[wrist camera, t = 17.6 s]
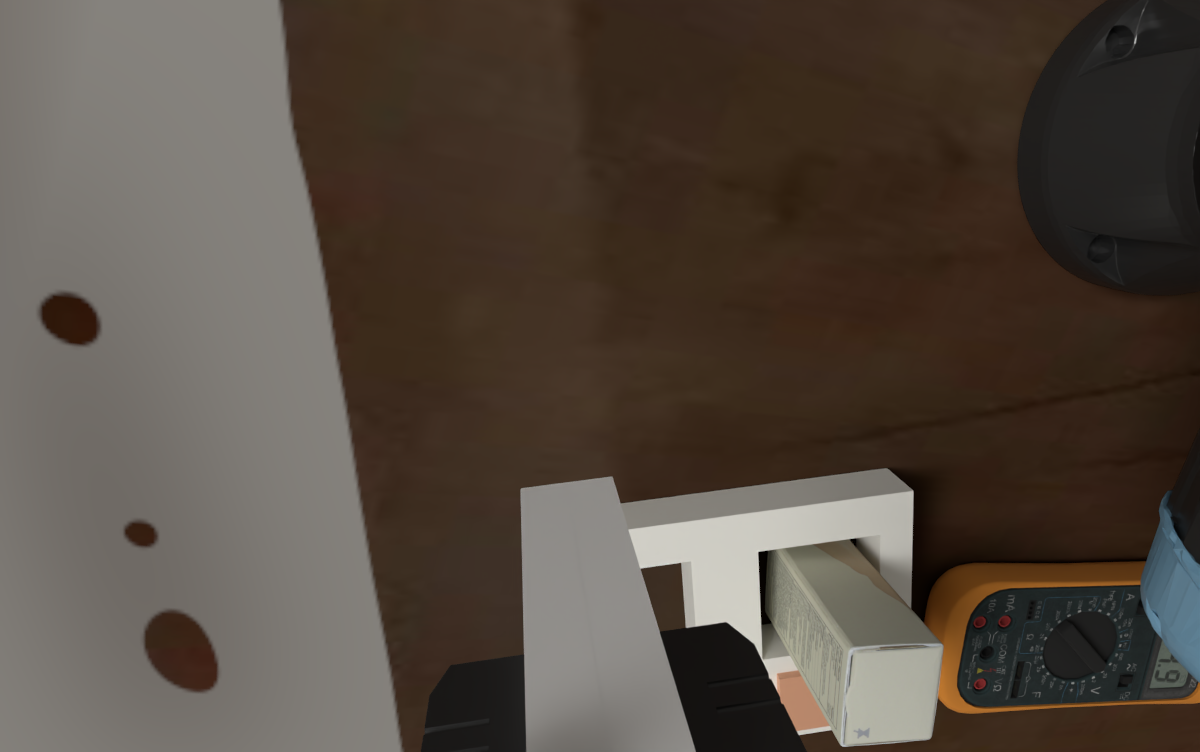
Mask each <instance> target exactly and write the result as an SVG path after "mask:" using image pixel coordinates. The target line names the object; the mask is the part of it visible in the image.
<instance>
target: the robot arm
mask: <svg viewBox="0 0 1200 752" xmlns="http://www.w3.org/2000/svg"><path fill="white" fill-rule="evenodd" d="M1018 182H1019V190H1020V195H1021V200H1022V204H1023V207H1024V211H1025V213H1026V216H1027V219H1028V221H1029V224H1030V226H1031V228H1032V230H1033V232H1034V234H1035V235H1036V237H1037V239H1038V240H1039V242H1040V243H1041V245H1042V246H1043V247H1044V249H1045V250H1046V251H1047V252H1048V253H1049V255H1050V256H1051V257H1052V258H1053V259H1054V260H1055V261H1056V262H1058V263H1059V264H1060V265H1061V266H1062V267H1063V268H1065V269H1066V270H1068V271H1069V272H1071V273H1072V274H1074V275H1076V276H1078V277H1079V278H1081V279H1084V280H1086V281H1088V282H1091V283H1094V284H1097V285H1100V286H1104V287H1108V288H1113V289H1117V290H1122V291H1126V292H1131V293H1136V294H1143V295H1179V294H1186V293H1192V292H1198V291H1200V0H1107V1H1106V2H1104V3H1103V4H1101V5H1100V6H1099V7H1098V8H1096V9H1095V10H1094V11H1092V12H1091V13H1090V14H1089V15H1088V16H1087V17H1085V18H1084V19H1083V20H1082V21H1081V22H1080V23H1079V24H1078V25H1077V26H1076V27H1075V28H1074V29H1073V30H1072V31H1071V32H1070V33H1069V35H1068V36H1067V37H1066V38H1065V39H1064V40H1063V42H1062V43H1061V44H1060V46H1059V47H1058V48H1057V49H1056V51H1055V52H1054V54H1053V55H1052V57H1051V58H1050V60H1049V61H1048V63H1047V65H1046V66H1045V68H1044V70H1043V71H1042V73H1041V75H1040V77H1039V79H1038V81H1037V83H1036V85H1035V88H1034V90H1033V92H1032V95H1031V97H1030V100H1029V103H1028V106H1027V109H1026V112H1025V115H1024V119H1023V123H1022V128H1021V133H1020V139H1019V147H1018ZM1159 514H1160V523H1159V526H1158V529H1157V532H1156V535H1155V538H1154V540H1153V543H1152V546H1151V549H1150V552H1149V555H1148V558H1147V561H1146V563H1145V566H1144V569H1143V572H1142V575H1141V584H1140V591H1141V600H1142V604H1143V607H1144V610H1145V613H1146V615H1147V617H1148V619H1149V620H1150V622H1151V625H1152V627H1153V629H1154V630H1155V631H1156V632H1157V634H1158V635H1159V636H1160V637H1161V638H1162V639H1163V642H1164V644H1165V646H1166V647H1167V648H1168V650H1169V652H1170V653H1171V654H1172V655H1173V656H1174V657H1175V659H1176V660H1177V661H1178V662H1179V663H1180V664H1181V665H1182V666H1183V667H1184V668H1185V669H1186V670H1187V671H1188V672H1189V673H1190V674H1191V675H1192V676H1193V677H1194V678H1195V679H1196V680H1197V681H1198V682H1199V683H1200V428H1199V430H1198V433H1197V435H1196V437H1195V440H1194V442H1193V444H1192V447H1191V449H1190V451H1189V454H1188V456H1187V458H1186V461H1185V463H1184V465H1183V468H1182V470H1181V472H1180V475H1179V477H1178V479H1177V482H1176V484H1175V486H1174V489H1173V490H1171V491H1167V492H1166V494H1165V495H1164V497H1163V499H1162V501H1161V504H1160V508H1159ZM521 527H522V573H523V620H524V655H518V656H511V657H504V658H497V659H490V660H484V661H477V662H470V663H463V664H456V665H451V666H450V667H449V668H448V670H447V671H446V673H445V674H444V676H443V677H442V678H441V680H440V681H439V683H438V684H437V686H436V687H435V689H434V690H433V691H432V693H431V694H430V696H429V703H428V709H427V716H426V722H425V735H423V742H422V748H421V752H807V751H806V749H805V747H804V745H803V743H802V741H801V739H800V737H799V735H798V733H797V731H796V729H795V726H794V724H793V722H792V720H791V718H790V716H789V714H788V712H787V710H786V708H785V706H784V704H782V703H781V699H780V696H779V694H778V692H777V690H776V688H775V686H774V684H773V681H772V679H769V674H768V671H767V669H766V667H765V665H764V663H763V661H762V659H761V657H760V655H759V653H758V651H757V649H756V647H755V645H754V643H752V642H751V641H750V640H748V639H747V638H746V637H745V636H743V635H742V634H741V633H740V632H738V631H737V630H736V629H735V628H733V627H732V626H731V625H730V624H728V623H727V622H723V623H717V624H710V625H703V626H696V627H689V628H682V629H676V630H669V631H662V632H659V629H658V625H657V622H656V619H655V616H654V612H653V609H652V606H651V602H650V599H649V596H648V592H647V589H646V586H645V583H644V579H643V576H642V573H641V569H640V566H639V563H638V560H637V556H636V553H635V550H634V546H633V543H632V540H631V537H630V533H629V530H628V527H627V523H626V520H625V517H624V513H623V510H622V507H621V504H620V500H619V497H618V494H617V490H616V487H615V484H614V481H613V477H605V478H598V479H590V480H582V481H575V482H567V483H560V484H552V485H544V486H537V487H529V488H521Z"/></svg>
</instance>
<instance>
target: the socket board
mask: <svg viewBox="0 0 1200 752" xmlns="http://www.w3.org/2000/svg"><path fill="white" fill-rule="evenodd" d="M913 497H914V491H913V490H912V489H911V488H910V487H909V486H907V485H906V484H905V483H904V482H903V481H902V480H900V479H899V478H898V477H897V476H896V475H894V474H893V473H892V472H891V471H890V470H889V469H887V468H884V469H876V470H869V471H861V472H854V473H846V474H839V475H831V476H824V477H816V478H809V479H801V480H794V481H786V482H779V483H771V484H764V485H756V486H749V487H741V488H734V489H726V490H719V491H711V492H704V493H696V494H689V495H681V496H674V497H666V498H659V499H651V500H644V501H636V502H629V503H621V507H622V510H623V513H624V517H625V520H626V523H627V527H628V530H629V533H630V537H631V540H632V543H633V546H634V550H635V553H636V556H637V560H638V563H639V566H640V568H646V567H653V566H661V565H668V564H675V563H681V565H682V579H683V593H684V607H685V620H686V628H689V627H696V626H703V625H710V624H717V623H723V622H727V623H728V624H730V625H731V626H732V627H733V628H735V629H736V630H737V631H738V632H740V633H741V634H742V635H743V636H745V637H746V638H747V639H748V640H750V641H751V642H752V643H754V645H755V647H756V649H757V651H758V653H759V655H760V657H761V659H762V661H763V663H764V665H765V667H766V669H767V671H768V674H769V679H772V681H773V684H774V686H775V688H776V690H777V692H778V694H779V696H780V699H781V703H782V704H784V706H785V708H786V710H787V712H788V714H789V716H790V718H791V720H792V722H793V724H794V726H795V729H796V731H797V733H798V735H802V734H809V733H815V732H821V731H828V730H832V729H831V727H830V726H829V724H828V722H827V720H826V718H825V717H824V715H823V713H822V711H821V709H820V708H819V706H818V704H817V703H816V701H815V699H814V697H813V695H812V694H811V692H810V690H809V688H808V687H807V685H806V683H805V681H804V679H803V678H802V676H801V674H800V672H799V671H798V669H797V667H796V665H795V664H794V662H793V660H792V658H791V656H790V655H789V653H788V651H787V649H786V647H785V646H784V644H783V642H782V640H781V639H780V637H779V635H778V633H777V631H776V630H775V628H774V626H773V624H765V625H761V609H760V584H759V560H758V552H761V551H768V550H775V549H782V548H789V547H796V546H804V545H811V544H818V543H825V542H832V541H839V540H846V539H854V538H856V548H857V549H858V550H859V551H860V552H861V553H862V555H863V556H864V557H865V558H866V559H867V560H868V561H869V562H870V563H871V564H872V566H873V567H874V568H875V569H876V570H877V571H878V572H879V573H880V575H881V576H882V577H883V578H884V579H885V580H886V581H887V582H888V584H889V585H890V586H891V587H892V588H893V589H894V590H895V591H896V592H897V594H898V595H899V596H900V597H901V598H902V599H903V600H904V601H905V603H906V604H907V605H908V606H909V607H910V608H911V586H912V541H913Z"/></svg>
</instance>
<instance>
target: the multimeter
mask: <svg viewBox="0 0 1200 752" xmlns="http://www.w3.org/2000/svg"><path fill="white" fill-rule="evenodd" d="M1145 563H1146V561H1138V562H1098V563H970V564H964V565H958V566H956V567H954V568H951V569H949V570H947V571H946V572H945V573H944V574H943V575H941V576H940V577H939V578H938V579H937V581H936V582H935V584H934V585H933V586H932V589H931V591H930V594H929V597H928V602H927V608H926V614H925V620H924V624H925V625H926V626H927V627H928V628H929V629H930V631H931V632H932V633H933V634H934V635H935V636H936V637H937V638H938V639H939V641H940V642H941V643H942V644H943V645H944V649H943V656H942V666H941V674H940V683H939V691H938V698H939V699H940V701H941V702H942V703H943V704H944V705H945V706H946V707H947V708H949V709H951V710H954V711H956V712H958V713H968V714H974V713H988V712H1002V711H1016V710H1031V709H1045V708H1061V707H1083V706H1106V705H1128V704H1194V703H1200V683H1199V682H1198V681H1197V680H1196V679H1195V678H1194V677H1193V676H1192V675H1191V674H1190V673H1189V672H1188V671H1187V670H1186V669H1185V668H1184V667H1183V666H1182V665H1181V664H1180V663H1179V662H1178V661H1177V660H1176V659H1175V657H1174V656H1173V655H1172V654H1171V653H1170V652H1169V650H1168V648H1167V647H1166V646H1165V644H1164V642H1163V639H1162V638H1161V637H1160V636H1159V635H1158V634H1157V632H1156V631H1155V630H1154V629H1153V627H1152V625H1151V622H1150V620H1149V619H1148V617H1147V615H1146V613H1145V610H1144V607H1143V604H1142V600H1141V591H1140V584H1141V575H1142V572H1143V569H1144V566H1145Z"/></svg>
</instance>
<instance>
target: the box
mask: <svg viewBox="0 0 1200 752" xmlns="http://www.w3.org/2000/svg"><path fill="white" fill-rule="evenodd" d="M765 612H766V614H767V615H768V617H769V619H770V620H771V622H772V624H773V626H774V628H775V630H776V631H777V633H778V635H779V637H780V639H781V640H782V642H783V644H784V646H785V647H786V649H787V651H788V653H789V655H790V656H791V658H792V660H793V662H794V664H795V665H796V667H797V669H798V671H799V672H800V674H801V676H802V678H803V679H804V681H805V683H806V685H807V687H808V688H809V690H810V692H811V694H812V695H813V697H814V699H815V701H816V703H817V704H818V706H819V708H820V709H821V711H822V713H823V715H824V717H825V718H826V720H827V722H828V724H829V726H830V727H831V729H832V731H833V733H834V734H835V736H836V738H837V740H838V742H839V743H840V745H841V746H843V747H847V746H858V745H874V744H887V743H898V742H908V741H918V740H928V739H930V738H931V736H932V731H933V725H934V718H935V712H936V705H937V699H938V691H939V683H940V674H941V666H942V656H943V649H944V645H943V644H942V643H941V642H940V641H939V639H938V638H937V637H936V636H935V635H934V634H933V633H932V632H931V631H930V629H929V628H928V627H927V626H926V625H925V624H924V623H923V622H922V621H921V619H920V618H919V617H918V616H917V615H916V614H915V613H914V612H913V610H912V609H911V608H910V607H909V606H908V605H907V604H906V603H905V601H904V600H903V599H902V598H901V597H900V596H899V595H898V594H897V592H896V591H895V590H894V589H893V588H892V587H891V586H890V585H889V584H888V582H887V581H886V580H885V579H884V578H883V577H882V576H881V575H880V573H879V572H878V571H877V570H876V569H875V568H874V567H873V566H872V564H871V563H870V562H869V561H868V560H867V559H866V558H865V557H864V556H863V555H862V553H861V552H860V551H859V550H858V549H857V548H856V547H855V546H854V544H853V543H852V542H851V541H850V540H849V539H846V540H839V541H832V542H825V543H818V544H811V545H804V546H796V547H789V548H782V549H775V550H768V557H767V574H766V592H765Z"/></svg>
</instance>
